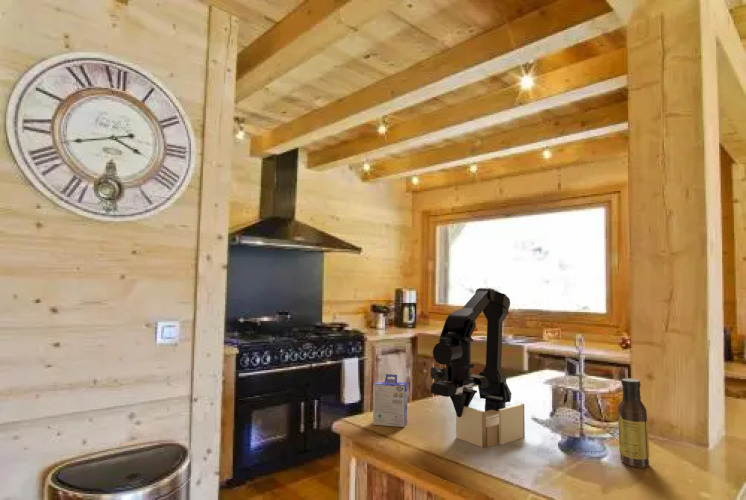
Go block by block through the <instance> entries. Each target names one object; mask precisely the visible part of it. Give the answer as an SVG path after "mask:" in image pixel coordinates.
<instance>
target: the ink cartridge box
mask: <svg viewBox="0 0 746 500" xmlns="http://www.w3.org/2000/svg"><path fill="white" fill-rule="evenodd" d="M391 377H393V379H392V378H391ZM372 405H373V407H372V409H373V413H372V415H373V416H372V419H373V420H372V425H374V426H383V427H385V426H387V427H401V428H405V427H406V425H407V423H408V382H404V381H403V382H402V381H398V374H388V373H386V374H385V378H384V381H379V380H378V381H376V382H375V383H374V384H373V404H372Z"/></svg>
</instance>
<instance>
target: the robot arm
mask: <svg viewBox="0 0 746 500" xmlns="http://www.w3.org/2000/svg"><path fill="white" fill-rule="evenodd" d="M510 305H511V299H510V298H509V297H508V295H507V294H505V293H502V292H499V291H496V290H495V289H493V288H492V287H479V288H476V289H475V292H474V294H473V295H472V297H470V299H469V300H468V301H467V303H466V304H464V305H463V307H462V308H460V309H457V310H454V311H452V312H451V313H450V314H449V315H447V317H446V318H445V321H444V324H443V328H442V331H441V333H440V336H439V339H438V340H439V341H438V343H436V344H435V345H434V347H433V349H432V357H433V358H434V360H435V362H437V363H438V364H439V365H445V367H444V368H441V367H439V366H438V365H437V366H433V367H430V378H431V379H432V380H435V381H434V382H432V383H431V384H430V393H431V394H433V395H438V396H441V397H445V398H446V397H447V398H450V400H451V402H452V404H453V408H454V410H455V411H454V412H455V415H456V414H457V416H458V417H461V416H462V412H463V408H464V406H466V407H469V406H470V405H471V402H472V401H473V399H474V397H475V395H476V394H477V393H478V394H479V398H480V399H483V400H484V412H485V411H489V410H495V411H499V409H503V408H507V407H506V405H507V404H506V403H510V402H511V400H512V392H511V390H510V387H509V385H508V384H507V376H506V374H505V372H504V370H503V368H502V358H503V357H502V355H503V353H502V352H503V325H504V320H505V319H506V318H507V316H508V314H509V311H510V310H509V309H510ZM481 314H483V315H484V318H485V319H486V321H487V323H486V326H487V327H486V344H485V345H486V348H485V367H484V368H483V370H482V371H480V372H479V373H478V374H474V373H473V374H472V373H471V372H472V369H473V368H475V363H472V358H471V357H472V356H471V354H472V353H471V351H472V349H471V348H472V347H471V346H472V345H471V343H473V342H474V339H473V338H472V336H473V333H474V332H475V329H476V327H477V324H476V320H477V318H478V317H479V316H480V315H481ZM473 386H477V387H478V388H477V389H478V390H476V389H474V387H473Z"/></svg>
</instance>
